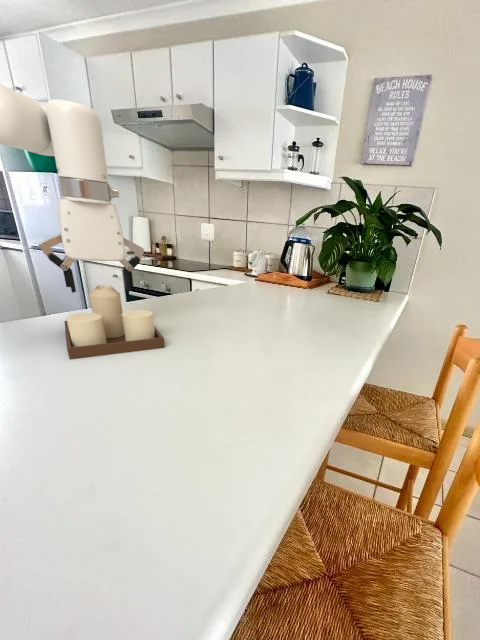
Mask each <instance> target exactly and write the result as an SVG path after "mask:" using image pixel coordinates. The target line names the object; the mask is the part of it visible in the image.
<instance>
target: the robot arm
mask: <svg viewBox="0 0 480 640" xmlns="http://www.w3.org/2000/svg"><path fill="white" fill-rule="evenodd" d="M101 123H102V122H101V118H100V116H99V114H98V112H97V111H96V110H95V109H93V108H92V107H90V106H88V105H86V104H83V103H79V102H76V101H71V100H68V99H67V100H66V99H61V98H54V99H50V100H49V101H47V103H43V102H41V101H39V100H36V99H34V98H31V97H29V96H27V95H25V94H23V93H21V92H19V91H16V90H14V89H12V88H10V87H8V86H5V85H3V84H1V83H0V145H3V146H6V147H10V148H15V149H20V150H23V151H26V152H29V153H33V154H37V155H41V156H45V157H54V160H55V166H56V170H57V177H58V181H59V187H60V192H61V198H57V216H58V217H57V218H58V226H59V233H58V234H56V235H53V236H51V237H49V238H47V239H45V240H42V241H40V242H39V243H38V247H39V249H40V250H41V251H42V252H43V254H44V255H45V256H46V257H47V258H48V260H49V261H50V262H52V264H54V265H56V266H57V267H58V268H60V269H61V270H62V273H63V277H64V282H65V287H66V288H70V290H71V293H72V294H73V293H74V294H75V293H76V292H77V288H76V285H75V279H74V274H73V269H72V268H71V266H72V265H73V263H74V262H75V261H85V262H87V261H88V262H119V263H120V264H121V265H122V266H123V268H122V277H123V285H124V290H126V292H132V289H131V287H134V279H133V271H134V269H135V268H136V267H137V266H138V265H139V264H140V263H141V260H142V258H143V255H144V253H145V249H144V247H142V246H141V245H138V244H136V243H135V242H132V241H131V240H129V239H128V238H125V237H124V235H123V229H122V225H121V220H120V216H119V212H118V210H117V206H116V204H114V203H112V199H115V198H120V192H119V189H117V188H114V187H112V186H111V185H110V183H109V175H108V168H107V159H106V153H105V145H104V137H103V131H102V130H103V129H102V124H101ZM59 244H62V248H63V251H64V253H65V256H63V258H62V259H61V258H60V257H59V256H58V255H56V253H54V252H53V250H52V248H53V247H55V246H57V245H59ZM126 247H127V248H129V249H130V250H132V251H134V254H133V256H132V257H131V258H130V260H127V259H126V256H127V255H126Z"/></svg>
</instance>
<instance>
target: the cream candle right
mask: <svg viewBox="0 0 480 640" xmlns="http://www.w3.org/2000/svg"><path fill="white" fill-rule="evenodd" d="M122 320H123V326H124V333H125V339H126V341H133V340H142V339H152V338H155V330H154V326H155V323H154V322H155V321H154V313H153V312H152V311H150V310H146V309H130V310H126V311H123V313H122Z"/></svg>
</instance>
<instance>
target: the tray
mask: <svg viewBox="0 0 480 640" xmlns="http://www.w3.org/2000/svg"><path fill="white" fill-rule="evenodd" d="M63 323H64V331H65V342H66V343H65V344H66V351H67V355H68V358H69V360H78V359H86V358H93V357H94V358H95V357H102V356H103V357H104V356H109V355H118V354H119V355H120V354H126V353H127V354H128V353H132V352H133V353H134V352H141V351H150V350H157V349H166V345H165V344H166V343H165V337H164V336H163V335H162V334H161V332H160V331H159V330H158V329H157V327H156V326H155V325H154V330H155V338H152V339H142V340H133V341H126V339H125V335H123V336H121V337H116V338H106V341H107V343H105V344H96V345H87V346H78V347H73V344H72V340H71V336H70V332H69V328H68V324H67V320H64V322H63Z"/></svg>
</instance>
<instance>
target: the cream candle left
mask: <svg viewBox="0 0 480 640" xmlns="http://www.w3.org/2000/svg"><path fill="white" fill-rule="evenodd" d="M65 320H66V321H67V324H68V328H69V332H70V336H71V340H72V344H73V347H78V346H87V345H96V344H105V343H107V341H106V336H105V331H104V325H103V320H102V316H101V315H99V314H95V313H93V312H80V313H75V314H71V315H68V316H67V317H66V319H65Z"/></svg>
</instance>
